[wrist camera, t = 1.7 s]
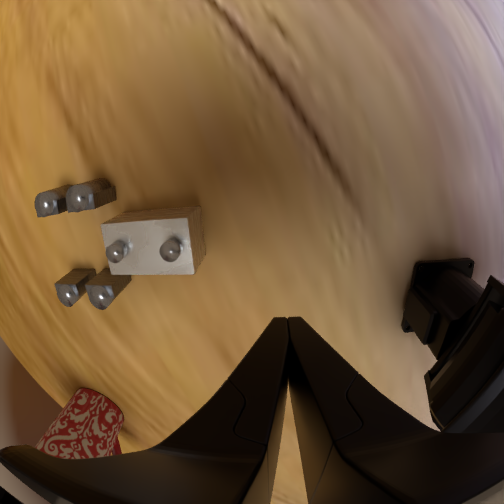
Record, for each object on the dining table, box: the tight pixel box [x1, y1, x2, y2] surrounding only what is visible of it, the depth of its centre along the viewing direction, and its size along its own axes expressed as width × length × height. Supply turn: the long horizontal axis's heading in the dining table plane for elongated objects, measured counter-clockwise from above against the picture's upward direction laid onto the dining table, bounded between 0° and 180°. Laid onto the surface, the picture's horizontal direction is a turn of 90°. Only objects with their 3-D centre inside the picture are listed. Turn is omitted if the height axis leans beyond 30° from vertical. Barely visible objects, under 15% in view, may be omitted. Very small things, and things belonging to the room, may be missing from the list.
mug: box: [35, 388, 124, 459], centre depth 23 cm, size 13×9×14 cm
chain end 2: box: [66, 178, 131, 310], centre depth 18 cm, size 2×9×3 cm, turn 3°
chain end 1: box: [35, 185, 96, 307], centre depth 19 cm, size 2×9×3 cm, turn 3°
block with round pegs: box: [101, 206, 206, 275], centre depth 18 cm, size 6×4×4 cm, turn 93°
